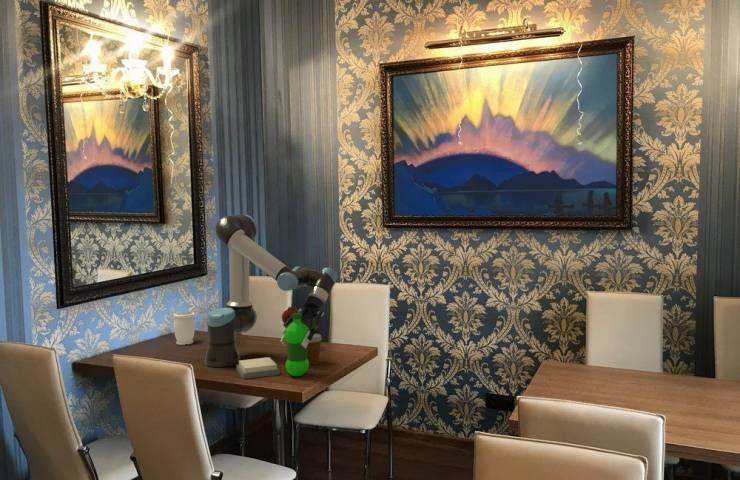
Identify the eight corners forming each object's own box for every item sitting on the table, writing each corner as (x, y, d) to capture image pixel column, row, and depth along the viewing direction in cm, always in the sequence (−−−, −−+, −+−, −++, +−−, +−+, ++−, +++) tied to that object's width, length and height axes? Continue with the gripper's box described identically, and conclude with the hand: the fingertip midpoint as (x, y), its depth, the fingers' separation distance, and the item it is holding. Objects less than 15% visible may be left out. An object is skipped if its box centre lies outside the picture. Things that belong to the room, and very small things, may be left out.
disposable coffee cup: (296, 363, 274) (295, 336, 273) (308, 358, 282) (308, 332, 281) (314, 366, 269) (314, 338, 269) (326, 361, 278) (326, 334, 277)
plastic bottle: (310, 370, 262) (310, 311, 259) (308, 378, 251) (308, 316, 249) (286, 369, 262) (286, 310, 259) (283, 378, 251) (283, 316, 249)
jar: (174, 341, 318) (173, 312, 317) (195, 339, 322) (194, 311, 320) (174, 346, 308) (173, 316, 307) (195, 344, 311) (195, 314, 310)
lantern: (304, 346, 305) (303, 285, 302) (298, 351, 296) (296, 288, 293) (286, 345, 307) (285, 284, 305) (279, 350, 298) (277, 287, 296)
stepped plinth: (236, 369, 266) (236, 360, 265) (271, 365, 271) (270, 356, 271) (243, 379, 252) (243, 369, 252) (279, 374, 258) (279, 365, 257)
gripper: (342, 308, 261) (319, 353, 249) (298, 303, 273) (275, 346, 261) (334, 297, 256) (311, 342, 244) (290, 292, 268) (266, 335, 256)
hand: (292, 344), depth 253 cm, fingers closed on plastic bottle, 10 cm apart
